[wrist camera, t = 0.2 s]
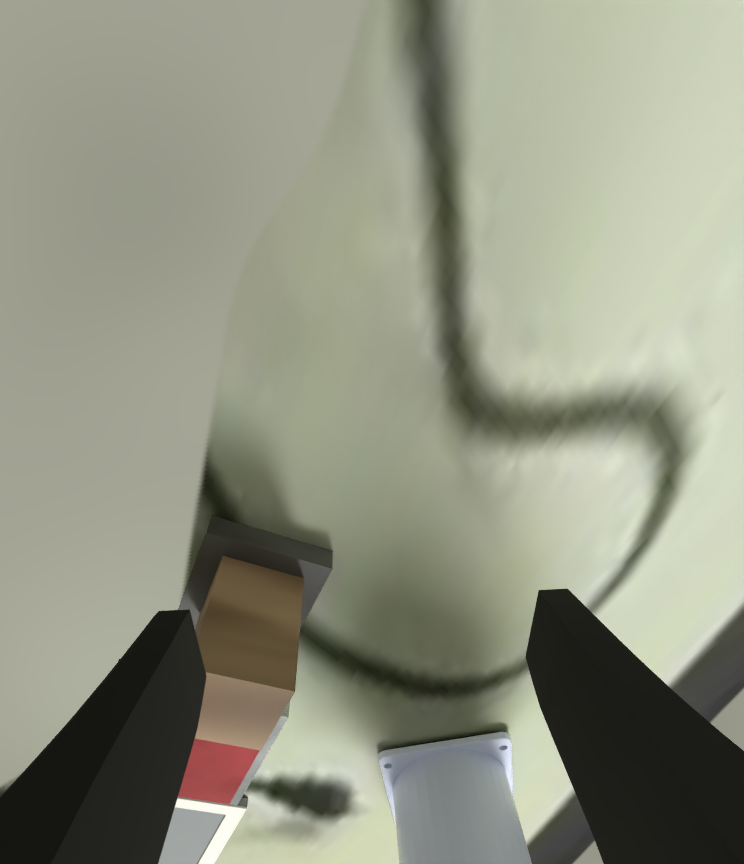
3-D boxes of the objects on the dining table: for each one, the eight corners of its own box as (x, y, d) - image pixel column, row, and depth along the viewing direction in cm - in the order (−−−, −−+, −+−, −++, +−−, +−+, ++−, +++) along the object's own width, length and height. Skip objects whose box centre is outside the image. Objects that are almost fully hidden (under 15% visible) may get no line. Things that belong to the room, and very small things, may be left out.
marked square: (201, 876, 35) (199, 887, 35) (38, 858, 33) (33, 869, 32) (248, 798, 31) (246, 809, 30) (64, 769, 28) (59, 780, 28)
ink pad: (240, 783, 30) (236, 811, 29) (87, 758, 28) (75, 787, 27) (290, 695, 27) (287, 722, 25) (119, 658, 24) (106, 686, 23)
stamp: (291, 629, 24) (277, 768, 19) (180, 601, 23) (128, 742, 17) (332, 550, 22) (331, 680, 16) (213, 514, 21) (166, 642, 15)
